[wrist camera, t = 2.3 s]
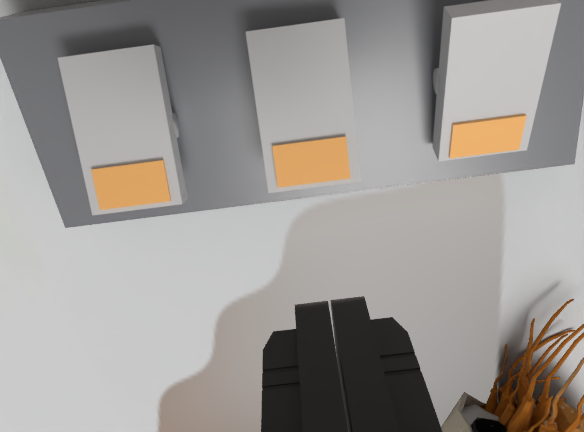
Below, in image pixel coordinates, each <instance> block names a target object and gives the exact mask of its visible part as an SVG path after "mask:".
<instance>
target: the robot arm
mask: <svg viewBox="0 0 584 432" xmlns="http://www.w3.org/2000/svg"><path fill="white" fill-rule="evenodd" d="M331 310H332V319H333V327H334V337H335V343H334V337H333V331H332V324H331V318H330V311H329V306H328V301H322V302H314V303H307V304H298V305H295V316H296V329H292V330H283V331H275V332H273V333H272V335H271V336H270V338H269V340H268V342H267V344H266V345H265V347H264V349H263V374H262V377H263V378H262V388H263V391H262V420H261V423H262V425H261V432H442V429H441V427H440V424H439V421H438V418H437V415H436V412H435V409H434V407H433V404H432V401H431V398H430V395H429V392H428V389H427V387H426V383H425V381H424V378H423V375H422V372H421V371H420V366H419V363H418V361H417V358H416V356H415V352H414V349H413V346H412V343H411V341H410V337H409V335H408V332H407V331H406V330H405V329H404V328H403V327H402V326H400V325H399V323H397V322H396V321H395V320H394V319H393V318H392V317H390V318H382V319H374V320H370V316H369V313H368V309H367V306H366V301H365V298H364V296H363V297H354V298H346V299H339V300H331ZM335 346H336V350H335ZM336 355H337V356H336Z"/></svg>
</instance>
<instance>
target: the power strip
mask: <svg viewBox="0 0 584 432" xmlns="http://www.w3.org/2000/svg"><path fill="white" fill-rule="evenodd" d="M481 1H488V0H99V1H92V2H85V3H78V4H71V5H64V6H57V7H50V8H43V9H36V10H29V11H23V12H19V13H15V14H12V15H8V16H4V17H1V18H0V58H1V60H2V63H3V66H4V68H5V71H6V73H7V76H8V79H9V81H10V84H11V87H12V89H13V92H14V94H15V97H16V100H17V102H18V105H19V108H20V110H21V113H22V115H23V118H24V121H25V123H26V126H27V128H28V131H29V134H30V136H31V139H32V142H33V144H34V147H35V149H36V152H37V155H38V157H39V160H40V162H41V165H42V168H43V170H44V173H45V176H46V178H47V181H48V183H49V186H50V189H51V191H52V194H53V196H54V199H55V202H56V204H57V207H58V210H59V212H60V215H61V217H62V220H63V223H64V225H65V228H68V227H76V226H84V225H92V224H100V223H108V222H116V221H124V220H132V219H140V218H147V217H155V216H163V215H171V214H179V213H187V212H195V211H203V210H211V209H219V208H227V207H235V206H243V205H251V204H259V203H267V202H275V201H283V200H291V199H299V198H307V197H315V196H323V195H331V194H339V193H347V192H355V191H363V190H371V189H379V188H386V187H394V186H402V185H410V184H418V183H426V182H434V181H442V180H450V179H458V178H466V177H474V176H482V175H490V174H498V173H506V172H514V171H522V170H530V169H538V168H546V167H554V166H562V165H570V164H574V163H575V156H576V148H577V141H578V134H579V127H580V119H581V112H582V105H583V97H584V0H558V1H560V2H561V6H560V11H559V15H558V19H557V24H556V28H555V32H554V36H553V41H552V45H551V49H550V53H549V58H548V62H547V66H546V71H545V75H544V79H543V83H542V88H541V92H540V96H539V100H538V105H537V109H536V113H535V118H534V122H533V126H532V130H531V135H530V139H529V143H528V147H527V150H525V151H517V152H509V153H501V154H493V155H486V156H478V157H470V158H462V159H454V160H446V161H438V159H437V157H436V155H435V152H434V150H433V148H432V146H433V134H434V121H435V109H436V97H437V94H436V93H435V91H434V87H433V71H434V69H435V68H439V60H440V48H441V35H442V23H443V11H444V7H445V6H452V5H459V4H466V3H473V2H481ZM340 18H344V19H345V29H346V38H347V48H348V58H349V68H350V78H351V88H352V98H353V107H354V117H355V127H356V137H357V147H358V157H359V167H360V176H361V182H354V183H346V184H338V185H330V186H322V187H314V188H306V189H298V190H291V191H283V192H275V193H268V186H267V179H266V172H265V165H264V158H263V151H262V144H261V137H260V130H259V123H258V116H257V109H256V102H255V95H254V88H253V81H252V74H251V67H250V60H249V52H248V45H247V38H246V32H247V31H254V30H261V29H268V28H276V27H283V26H290V25H297V24H304V23H312V22H319V21H326V20H333V19H340ZM153 44H154V45H156V46H159V47H161V52H162V58H163V64H164V69H165V75H166V80H167V86H168V92H169V97H170V103H171V108H172V113H175V115H176V117H177V120H178V125H179V137H178V138H177V142H178V148H179V153H180V159H181V165H182V170H183V176H184V181H185V187H186V193H187V198H188V199H187V200H186V201H185V202H184V203H183V204H180V205H172V206H164V207H156V208H148V209H140V210H132V211H124V212H116V213H108V214H100V215H92V212H91V207H90V202H89V198H88V193H87V189H86V184H85V180H84V175H83V171H82V166H81V162H80V157H79V153H78V148H77V144H76V139H75V135H74V130H73V126H72V121H71V117H70V112H69V108H68V103H67V99H66V94H65V90H64V85H63V81H62V76H61V71H60V67H59V62H58V58H59V57H67V56H74V55H81V54H88V53H95V52H103V51H110V50H117V49H124V48H131V47H139V46H146V45H153Z"/></svg>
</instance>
